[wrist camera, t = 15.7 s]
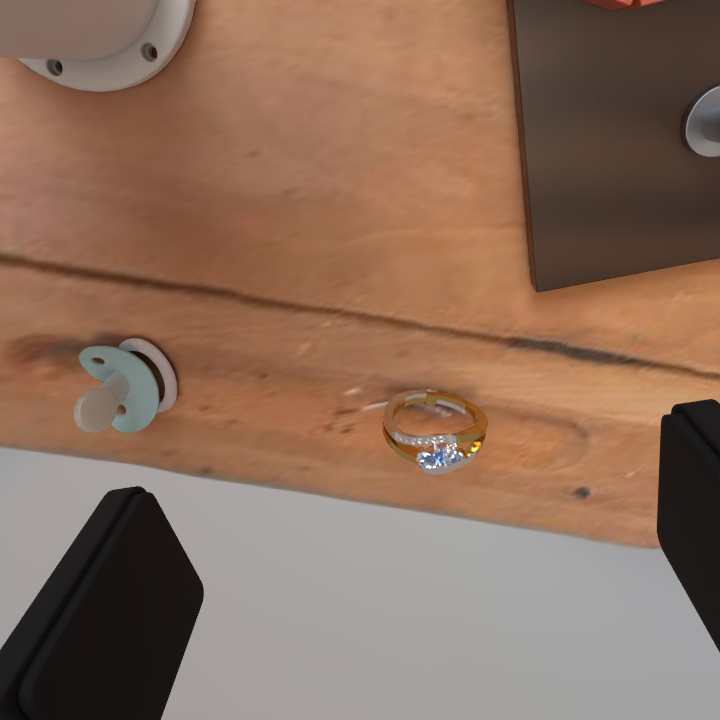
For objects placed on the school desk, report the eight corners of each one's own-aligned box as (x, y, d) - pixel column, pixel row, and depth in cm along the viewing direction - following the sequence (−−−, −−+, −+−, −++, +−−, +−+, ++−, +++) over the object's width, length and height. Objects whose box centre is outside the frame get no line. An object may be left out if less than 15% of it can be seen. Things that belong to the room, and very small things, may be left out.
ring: (482, 379, 39) (501, 448, 32) (473, 415, 40) (489, 488, 33) (387, 368, 39) (385, 434, 32) (381, 405, 40) (379, 475, 33)
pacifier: (161, 325, 38) (82, 336, 39) (125, 368, 33) (34, 380, 33) (191, 409, 42) (119, 418, 42) (164, 461, 36) (81, 470, 37)
